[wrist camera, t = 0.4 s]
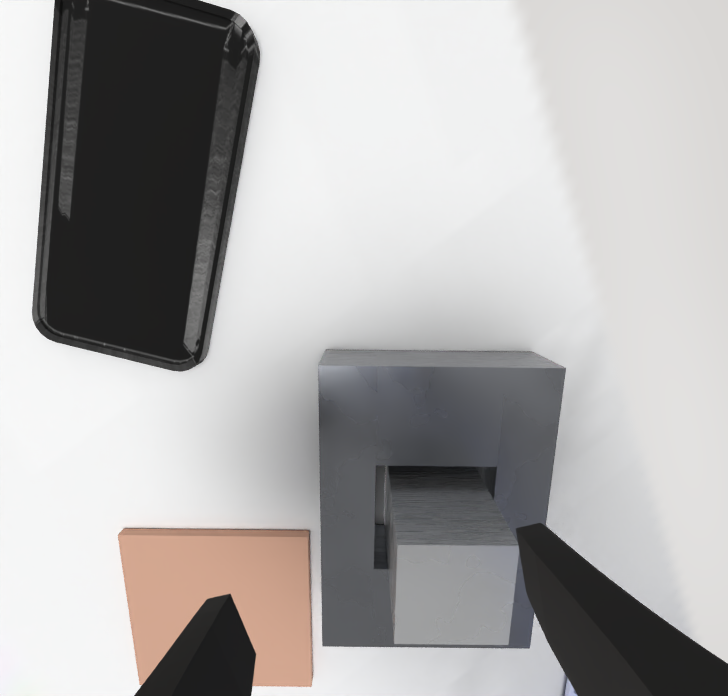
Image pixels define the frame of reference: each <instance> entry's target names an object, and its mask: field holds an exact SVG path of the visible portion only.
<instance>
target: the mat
mask: <svg viewBox="0 0 728 696" xmlns="http://www.w3.org/2000/svg"><path fill="white" fill-rule="evenodd" d="M118 540H119V547H120V553H121V560H122V567H123V574H124V581H125V588H126V594H127V601H128V608H129V615H130V622H131V629H132V635H133V642H134V649H135V656H136V663H137V670H138V676H139V683H140V685H143V683H144V682H145V681H146V679H147V678H148V677H149V675H150V674H151V673H152V671H153V670H154V669H155V668H156V666H157V665H158V664H159V662H160V661H161V660H162V658H163V657H164V656H165V654H166V653H167V651H168V650H169V649H170V647H171V646H172V645H173V643H174V642H175V641H176V639H177V638H178V637H179V635H180V634H181V633H182V631H183V630H184V628H185V627H186V626H187V624H188V623H189V622H190V620H191V619H192V618H193V616H194V615H195V614H196V612H197V611H198V610H199V608H200V607H201V606H202V605H203V603H204V602H205V601H206V600H207V599H209V598H213V597H217V596H222V595H226V594H231V596H232V598H233V601H234V603H235V605H236V608H237V610H238V612H239V615H240V617H241V620H242V622H243V624H244V627H245V629H246V631H247V634H248V636H249V638H250V641H251V643H252V645H253V648H254V650H255V652H256V660H255V669H254V677H253V685H252V686H297V687H311V686H312V678H313V672H312V628H311V584H310V539H309V531H306V530H212V529H123V530H122V531H121V532H120V533H119V534H118Z"/></svg>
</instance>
